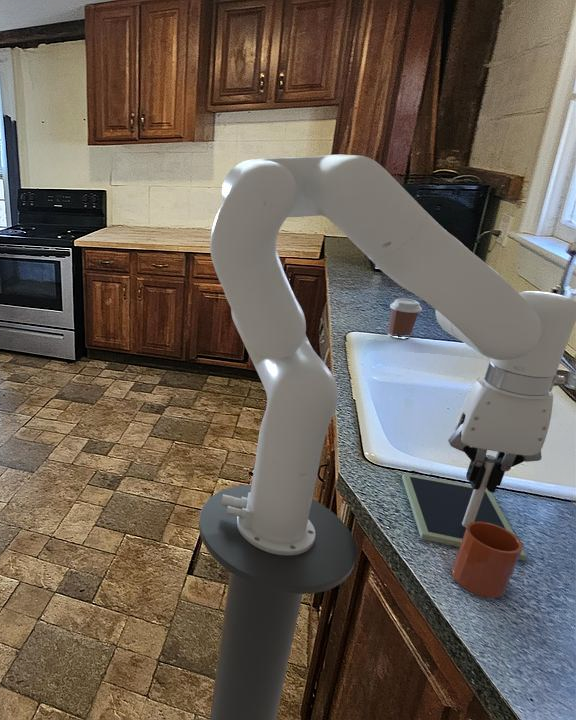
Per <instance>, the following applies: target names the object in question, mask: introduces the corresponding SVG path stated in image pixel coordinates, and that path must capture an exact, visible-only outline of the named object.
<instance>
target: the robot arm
mask: <svg viewBox="0 0 576 720" xmlns="http://www.w3.org/2000/svg"><path fill="white" fill-rule="evenodd" d="M221 198H222V201H223V202H222V203H221V205H220V206H219V209H218V211H217V213H216V216H215V219H214V221H213V225H212V228H211V233H210V241H209V249H210V251H209V252H210V257H211V261H212V265H213V268H214V271H215V274H216V276H217V278H218V281H219V283H220V285H221V288H222V291H223V292H224V295H225V299H226V300H227V302H228V304H229V307H230V313H231V318H232V321H233V324H234V325H235V328H236V330H237V333H238V334H239V336H240V339H241V341H242V343H243V345H244V347H245V349H246V351H247V353H248V355H249V358H250V359H251V362H252V364H253V367H254V368H255V371H256V372H257V375H258V377H259V379H260V381H261V383H262V386H263V389H264V391H265V393H266V407H265V411H264V414H263V417H262V421H261V423H260V426H259V427H260V428H259V432H258V437H257V438H258V439H257V444H256V445H257V446H256V453H255V460H254V466H253V472H252V473H253V474H252V481H251V485H252V486H251V492H249V493H248V498H246V497H242V499H240V498H236V497H233V496H228V495H223V497H222V504H221V505H222V506H227V507H228V509H227V514H229V515H233V516H234V515H235V516H238V517H237V526H238V529H239V531H240V533H241V535H242V536H243V537H244V538H245V539H246V540H247V541H248V542H249V543H251V544H252V545H254V546H255V547H257V548H259V549H261V550H263V551H266V552H269V553H272V554H277V555H284V556H288V555H298V554H301V553H304V552H306V551H308V550H309V549H310V548H311V547H312V546H313V544H314V541H315V535H316V534H315V529H314V527H313V525H312V523H311V522H310V520H309V519H308V518H309V513H310V508H311V503H312V499H314V492H315V487H316V484H317V478H318V473H319V467H320V464H321V459H322V458H321V457H322V454H323V453H322V452H323V448H324V444H325V440H326V436H327V434H328V429H329V427H330V424H331V421H332V419H333V417H334V415H335V412H336V410H337V406H338V403H339V390H338V385H337V382H336V379H335V377H334V375H333V374H332V372H331V370H330V368H328V365H326V363H325V362H324V361H323V359H322V358H321V357H320V356H319V355H318V354H317V353H316V351H315V350H314V348H313V347H312V345H311V343H310V340H309V338H308V336H307V333H306V332H307V323H306V322H307V321H306V316H305V312H304V311H303V309H302V306H301V305H300V303H299V301H298V299H297V297H296V296H295V293H294V291H293V289H292V287H291V283H290V282H289V279H288V277H287V275H286V273H285V270H284V267H283V263H282V262H281V258H280V256H279V253H278V247H277V240H278V235H279V232H280V230H281V228H282V225H283V224H284V222H285V221H286V219H287V218H300V217H301V218H302V217H303V218H304V217H305V218H306V217H319V216H322V217H325V218H326V219H328V220H329V221H330V222H331V223H332V224H333V225H334V226H335V227H336V228H337V229H338V230H339V231H340V232H341V233H342V234H343V235H345V237H346V238H348V240H350V241H351V242H352V243H353V245H355V246H356V247H357V248H358V249H359V250H360V251H361V252H362V253H363V254H364V255H365V256H366V257H367V258H368V259H369V260H370V261H371V262H372V263H373V264H374V265H375V266H376V267H377V268H378V269H379V270H380V271H381V272H382V273H383V274H384V275H386V276H387V277H389V278H390V279H391V280H392V281H393V282H395V283H396V284H398V285H399V286H400V287H402V288H403V289H405V290H406V291H408V292H410V293H411V294H413V295H415V296H416V297H418V298H419V299H421V300H423V301H424V302H426V303H427V304H428V305H430V306H431V307H432V308H433V309H434V310H435V318H436V321H437V323H438V325H439V326H440V328H442V329H443V330H444V331H445V332H446V333H448V334H449V335H451V336H452V337H454V338H456V339H457V340H458V341H460V342H461V343H463V344H465V345H466V346H468V347H470V348H471V349H473V350H474V351H476V352H477V353H479V354H480V355H482V356H484V357H486V358H489V363H488V366H487V368H486V372H485V375H484V377H478V378H477V379H476V380H475V381H474V382H473V385H472V386H471V388H470V389H469V391H468V394H467V395H466V397H465V399H464V400H463V401H464V402H463V403H462V406H461V408H460V410H459V413H458V416H457V418H456V421H455V425H454V430H455V431H454V432H453V433H452V434H451V435H450V437H449V438H448V440H447V441H448V444H449V446H450V447H451V448H454V449H456V450H458V451H460V452H463V453H464V454H465V455H466V456H467V457H468V459H469V460H470V461H469V464H468V468H467V471H466V475H465V477H466V480H467V481H468V482H469V485H471V486H472V488H473V489H476V490H478V489H479V488H480V485H481V483H482V480H483V477H484V474H485V471H486V468H485V467H484V460H485V456H486V455H487V453H488V451H491V452H492V451H493V452H496V455H495V456H494V457H495V458H496V461H495V464H494V467H493V470H492V473H491V475H490V478H489V481H488V484H487V487H486V488H487V490H488V491H489V492H491V493H492V494H494V493H495V492H496V489H497V488H498V487H500V486H501V484H502V481H503V478H504V476H505V473H506V472H509V471H511V469H512V468H513V467H516V466H517V465H520V464H522V463H524V462H525V463H529V462H539V461H541V460H542V458H543V457H542V449H543V446H544V444H545V443H546V442H545V441H546V439H547V435H548V432H549V428H550V423H551V419H552V412H553V404H554V394H553V393H552V391H553V388H554V387H557V386H560V387H561V386H562V387H563V386H564V385H565V384H566V376H563V375H559V374H557V372H558V370H559V366H560V364H561V362H562V359H563V356H564V353H565V350H566V349H567V345H568V343H569V340H570V338H571V335H572V333H573V329H574V327H575V324H576V300H574V299H573V298H571V297H568V296H565V295H562V294H558V293H554V292H553V293H552V292H546V291H537V290H527V291H521V292H518V290H517V289H516V288H515V287H513V285H512V284H510V282H509V281H507V280H506V279H505V278H504V277H503V276H502V275H500V273H498V272H497V271H496V270H495V269H494V268H493V267H491V266H490V265H489V264H488V263H486V262H485V261H484V260H483V259H481V258H480V257H479V256H478V255H476V254H475V253H474V252H473V251H471V250H470V249H469V248H468V247H467V246H465V245H464V244H463V243H462V242H461V241H460V240H459V239H457V237H455V236H454V235H453V234H451V233H450V232H448V231H447V229H445V228H444V227H443V226H442V225H441V224H439V222H438V221H436V220H435V218H433V216H432V215H430V213H428V211H426V210H425V209H424V207H422V205H421V204H419V202H418V201H417V200H416V199H415V198H414V197H413V196H412V195H411V194H410V193H409V192H408V191H407V190H406V189H405V188H404V187H403V186H402V185H401V184H400V183H399V182H398V181H397V180H396V178H394V176H392V174H390V172H388V170H387V169H386V168H385V167H383V166H382V165H381V164H380V163H378V162H377V161H376V160H374V159H373V158H371V157H369V156H364V155H359V154H344V153H343V154H340V153H339V154H328V155H326V154H325V155H315V156H299V157H297V156H296V157H276V158H275V157H273V158H272V157H271V158H269V157H268V158H251V159H246V160H243V161H241V162H239V163H237V164H236V165H235V166H233V167H232V168H231V169H230V170H229V172H228V173H227V174H226V176H225V178H224V180H223V183H222V188H221Z"/></svg>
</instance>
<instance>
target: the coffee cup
mask: <svg viewBox="0 0 576 720" xmlns="http://www.w3.org/2000/svg"><path fill="white" fill-rule="evenodd" d="M389 308H390V309H391V312H390V316H389V317H390V318H389V326H388V333H387V336H388V337H390V336H396V335H392V334H390V333H393V334H397V335H410V336H408V337H411V335H412V333H413V329H414V327H415V324H416V321H417V319H418V315H419V313H421V312H422V310H423V307H422V306H421V305H420V301H417V300H415V299H411V298H396V299H395V300H394V301H393V302H391V303H390V304H389ZM389 332H390V333H389ZM398 337H402V336H398Z"/></svg>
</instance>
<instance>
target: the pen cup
mask: <svg viewBox="0 0 576 720" xmlns="http://www.w3.org/2000/svg"><path fill="white" fill-rule="evenodd" d="M514 534H515V533H514ZM514 534H513V533H511V532H509V531H508V530H506V529H504V528H502V527H500V526H497V525H495V524H491V523H488V522H480V521H477V522H471V523H469V524H468V525H467V527H466V530H465V533H464V536H463V539H462V541H461V544H460V547H458V549H457V553H456V556H455V559H454V562H453V565H452V568H451V574H452V578H453V579H454V580H455V581H456V582H457V584H458V585H460V586H461V587H462V588H464V589H466V590H467V591H468V592H470V593H472V594H475V595H477V596H481V597H484V598H488V599H497V598H500V597H502V596H504V594H505V592H506V590H507V588H508V586H509V583H510V581H511V578H512V576H513V574H514V572H515V571H514V570H515V569H516V566H517V564H518V561H519V560H518V559H519V556H520V554H521V551H522V548H524V547H523V546H524V545H523V543H522V541H521V540H520V539H519V538H518V537H517V536H516V534H515V535H514Z"/></svg>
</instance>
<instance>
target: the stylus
mask: <svg viewBox="0 0 576 720" xmlns="http://www.w3.org/2000/svg"><path fill="white" fill-rule="evenodd" d="M495 457H496V456H494V455H491V454H486V456H485V460H484V467H485V468H486V471H485V474H484V477H483V480H482V483H481V485H480V488H479V489H478V490H476V489H474V490H473V493H472V496H471V499H470V502H469V505H468V507H467V510H466V513H465V516H464V519H463V522H462V525H463V526H464V527H467V525H468V524H469V523H471V522H474V521H475V518H476V515H477V512H478V510H479V507H480V504H481V501H482V498H483V495H484V492H485V490H486V487H487V484H488V481H489V478H490V475H491V473H492V470H493V467H494V464H495V461H496V458H495Z"/></svg>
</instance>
